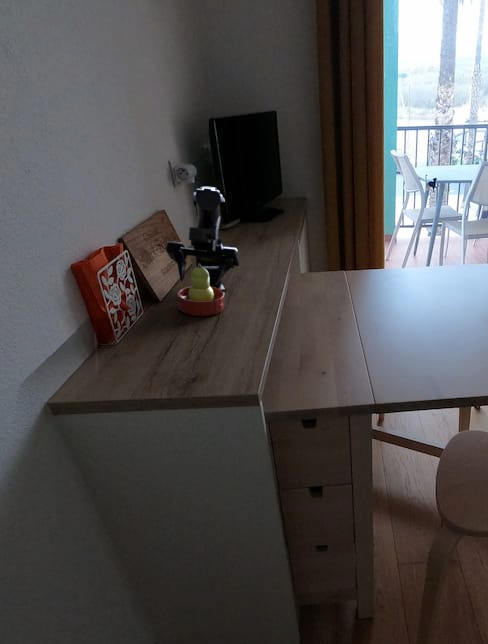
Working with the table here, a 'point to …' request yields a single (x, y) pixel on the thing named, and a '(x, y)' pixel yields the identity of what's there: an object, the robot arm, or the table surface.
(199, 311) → the bowl
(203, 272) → the pear
